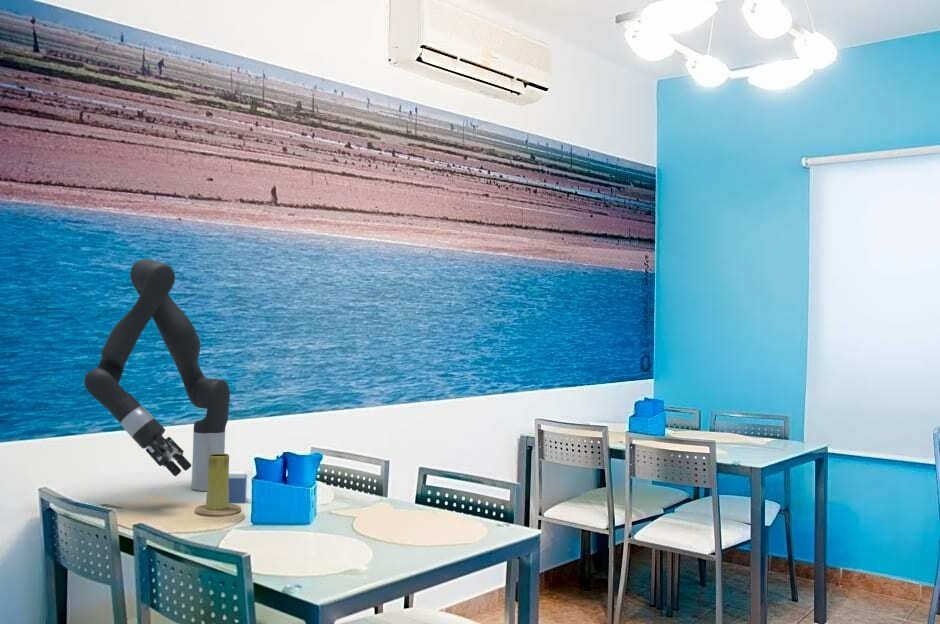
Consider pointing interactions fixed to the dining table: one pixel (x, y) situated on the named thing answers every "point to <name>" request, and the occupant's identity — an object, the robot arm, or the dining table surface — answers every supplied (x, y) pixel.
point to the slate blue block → (237, 486)
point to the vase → (218, 482)
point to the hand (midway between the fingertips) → (183, 471)
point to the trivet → (218, 511)
